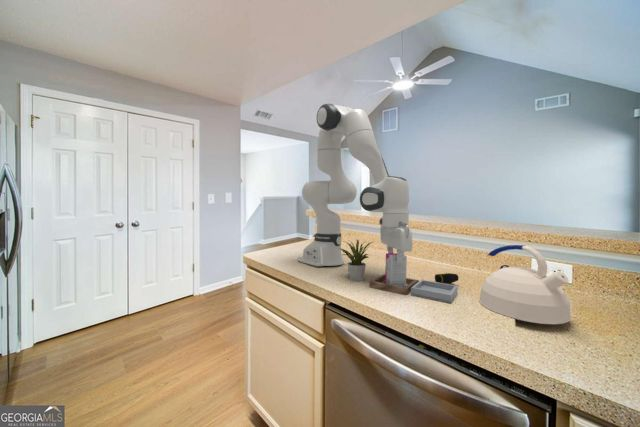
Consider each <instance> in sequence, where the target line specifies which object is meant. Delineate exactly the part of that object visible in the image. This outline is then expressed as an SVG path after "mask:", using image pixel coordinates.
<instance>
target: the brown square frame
mask: <svg viewBox="0 0 640 427" xmlns="http://www.w3.org/2000/svg"><path fill="white" fill-rule="evenodd" d="M419 281H420V280H419V279H416V278H409V277H406V287H400V286H395V285H390V284H385V273H383V274H381V275H379V276H378V277H376V278H373V279H371V280H370V281H368V283H369V285H368V286H369V288H372V289H375V290H381V291H385V292H390V293H393V294H394V293H395V294H399V295H400V294H401V295H405V296H407V295H409V294H411V287H412V286H414V285H415V284H416V283H418V282H419Z"/></svg>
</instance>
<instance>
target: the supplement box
mask: <svg viewBox="0 0 640 427" xmlns="http://www.w3.org/2000/svg"><path fill="white" fill-rule="evenodd" d="M396 257H397V252H396V253H395V252H393V253H388V252H386V253H385V269H384V271H385V272H384V274H385V280H384V284H390V285H395V286H400V287H406V286H407V284H406V278H407V265H408V264H407V257H408V256H407V255H405V254H404V255H403V257H402V262H397V261H396Z"/></svg>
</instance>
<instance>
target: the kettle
mask: <svg viewBox="0 0 640 427" xmlns="http://www.w3.org/2000/svg"><path fill="white" fill-rule="evenodd" d="M510 250H511V251H512V250H520V251H526V252H528V253H530V254H531V255H532V256H533V257H534V259H535V261H536V263H537V270H536V269H533V268H530V267H525V266H516V265H515V266H509V265H508V264H507V265H506V264H503V265H501V266H500V267H499V269H498V270H496V271H494V272H492V273H491V274H489V276H488V277H486V278H485V280H484V281H483V283H482V285H481V289H480V296H479V300H478V301H479V302H480V304H481V305H482V306H483V307H484V308H486V309H488V310H490V311H492V312H494V313H496V314H499V315H502V316H505V317H509V318H511V319H514V320H517V321H522V322H523V321H524V322H528V323H533V324H539V325H540V324H541V325H562V324H565V323H568V322H570V321H571V320H572V316H571V306H570V305H571V304H570V300H569V298H568V297H567V295H566V293H565V291H564V289H562V286H564V285H567V284H569V281H570V280H569V278H568V276H567V275H566V274H565V273H563V272H561V271H557V270H556V271H554V273H552V274H550V275H547V273H548V265H547V261H546V259H545V258H544V256H543V255H542V253H541V252H540V251H538V250H537V249H535V248H533V247H530V246H527V245H523V244H510V245H509V244H508V245H505V246H500V247H497V248H495V249H493V250H491V251H490V252H489V253H488V254H487V255H488V256H490V257H495V256H497V255H498V254H500V253H502V252H506V251H510Z"/></svg>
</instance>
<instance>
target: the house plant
mask: <svg viewBox="0 0 640 427" xmlns="http://www.w3.org/2000/svg"><path fill="white" fill-rule="evenodd" d="M348 241H349V242H350V243H349V242H347V241H343V242H344V243H346V244H344V246H346V247H347V249H350V251H351V253H350V252H349V251H348V250H346V249H344V248H342V247H341V248H339V249H340V250H341V252H343V253H342V256H347V258H349V260H350V262H347V268H348V269H347V270H348V277H349V280H350V281H354V282H361V281H363V280H364V277H365V271H366V266H367V264H366V263H365V262H362V261H364V260H365V259H367V258H368V259H369V256H370V257H371V255H370V254H368V253H366V251H367V250H368V248H369V247H371V244H372V243H373V241H371V242H368V241H364V242H363V243H360V240H358V239H356V243H355V245H354V243H353V242H352V241H351V240H349V239H348ZM367 242H368V243H367ZM365 243H367V244H366V245H365V246H363V245H364V244H365ZM347 245H348V246H347ZM359 246H360V247H359Z"/></svg>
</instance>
